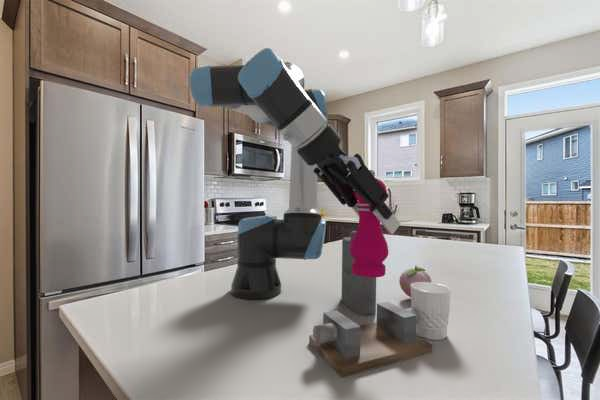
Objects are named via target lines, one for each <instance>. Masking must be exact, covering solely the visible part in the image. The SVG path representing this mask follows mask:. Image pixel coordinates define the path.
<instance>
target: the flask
mask: <svg viewBox="0 0 600 400" xmlns="http://www.w3.org/2000/svg"><path fill="white" fill-rule="evenodd" d="M356 231H357V230H353V231H352V230H351V232H349V236H345V237H343V238H342V241H341V242H342V244H341V247H342V248H341V249H342V250H341V301H342V302H343V303H344V304H345V305H346V306H347V307H348V308H349V309H350V310H352V311H354V312H355V313H356V314H359V315H362V316H373V315H375V314H376V313H377V277H362V276H358V275H355V274H354V273H353V272H352V263H353V262H355V259H354V258H353V257H352V255H351V254H350V246H351V242H352V239H353V237H354V235H355V233H356Z"/></svg>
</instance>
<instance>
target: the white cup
mask: <svg viewBox="0 0 600 400" xmlns="http://www.w3.org/2000/svg"><path fill="white" fill-rule="evenodd" d="M451 291H452V289H451V288H450V287H448V286H447V285H443V284H441V283H435V282H432V281H431V282H415V283H412V284H411V297H410V304H411V305H410V308H415V309H416V310H417V311H418V313H419V316H420V319H419V322H418V323H416V335H417V336H419V337H420V338H422V339H425V340H426V339H427V340H430V341H441V340H445V339H446V338H447V335H448V324H449V319H450V318H449V316H450V308H451V307H450V305H451V303H450V302H451Z"/></svg>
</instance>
